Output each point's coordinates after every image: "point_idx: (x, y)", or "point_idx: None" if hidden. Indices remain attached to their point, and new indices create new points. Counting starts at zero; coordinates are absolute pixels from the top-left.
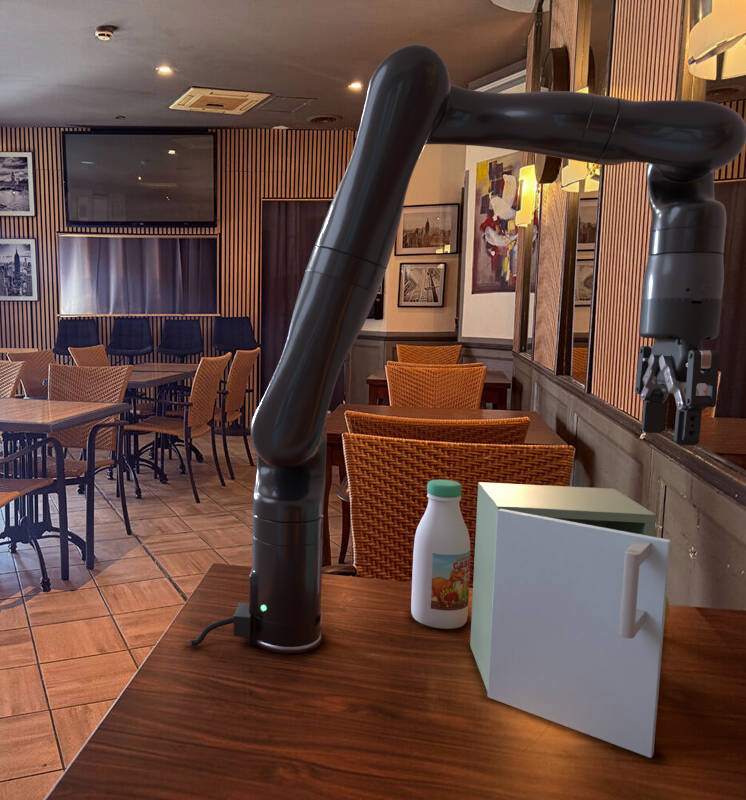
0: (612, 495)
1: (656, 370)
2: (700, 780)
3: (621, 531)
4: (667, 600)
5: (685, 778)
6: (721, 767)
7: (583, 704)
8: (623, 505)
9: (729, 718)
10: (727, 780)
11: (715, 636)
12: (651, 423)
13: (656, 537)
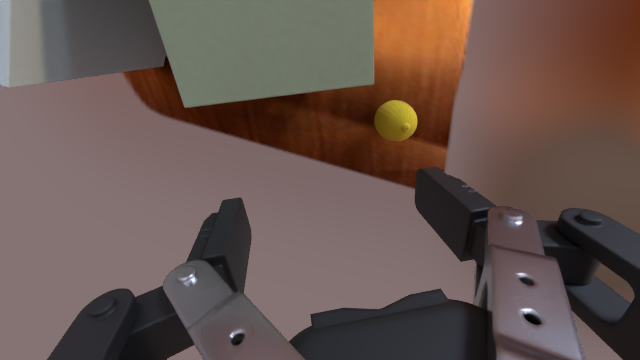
0: (313, 65)
1: (485, 354)
2: (147, 91)
3: (1, 6)
4: (388, 139)
5: (143, 81)
6: (174, 110)
7: None
8: (231, 66)
9: (251, 137)
10: (158, 109)
11: (389, 168)
12: (428, 193)
13: (7, 67)
